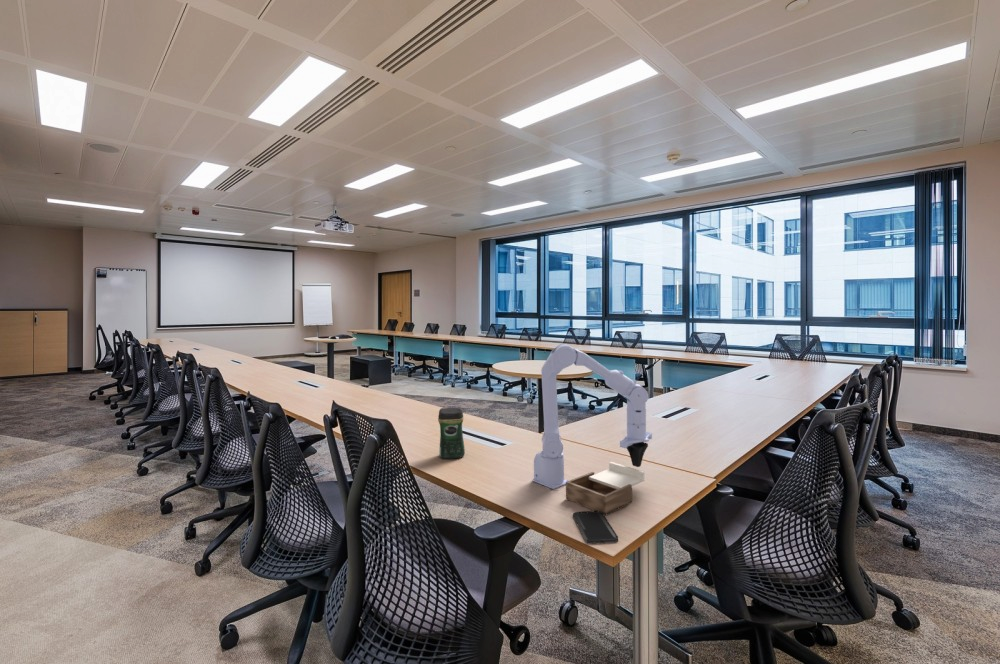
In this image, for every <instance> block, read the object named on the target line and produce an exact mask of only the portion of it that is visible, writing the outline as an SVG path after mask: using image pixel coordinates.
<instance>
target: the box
mask: <svg viewBox="0 0 1000 664" xmlns="http://www.w3.org/2000/svg"><path fill="white" fill-rule="evenodd" d="M592 475H595V472H594V471H590V472H588V473H585V474H582V475H580V476H577V477H576V478H572V479H570V480H569V481H567V482H566V484H565V500H567V501H570V502H571V503H572V502H573V503H575V504H578V505H580V506H582V507H585V508H587V509H590V510H591V511H601V512H602V513H603V515H604V516H608V515H609V514H611V513H613V512H615V511H617V510H619V509H621V508H623V507H625V506H627V505H629V504H631V503H633V492H632V491H633V486H632V485H631V484H628V485H626V486H624V487H622V488H620V489H615V488H612V487H609V486H606V485H603V484H600V483H598V482H595V481H592V480H589V477H590V476H592Z"/></svg>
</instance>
